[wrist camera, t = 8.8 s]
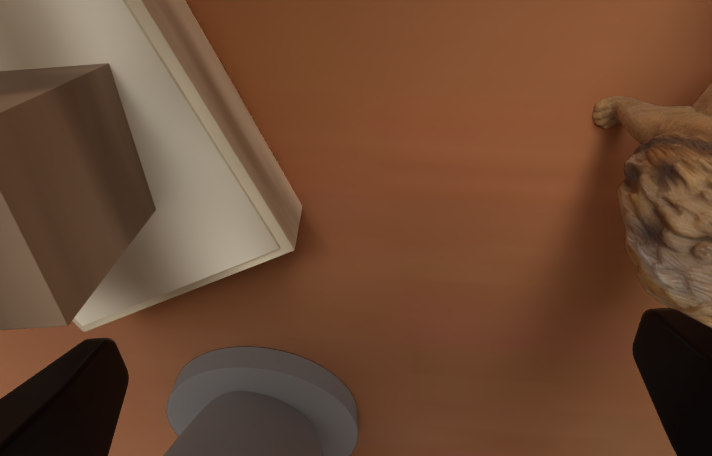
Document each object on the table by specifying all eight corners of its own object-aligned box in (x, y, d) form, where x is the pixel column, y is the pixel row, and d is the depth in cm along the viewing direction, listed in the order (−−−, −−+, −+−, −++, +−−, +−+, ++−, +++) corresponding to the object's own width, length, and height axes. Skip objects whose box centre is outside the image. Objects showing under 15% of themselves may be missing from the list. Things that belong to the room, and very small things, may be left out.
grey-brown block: (108, 63, 14) (-32, 127, 9) (156, 209, 17) (67, 326, 11) (-54, 75, 14) (-285, 145, 9) (17, 218, 17) (-132, 337, 12)
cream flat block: (98, -161, 15) (16, -198, 11) (303, 201, 21) (293, 253, 18) (-129, -15, 17) (-262, -6, 13) (123, 275, 23) (81, 335, 20)
